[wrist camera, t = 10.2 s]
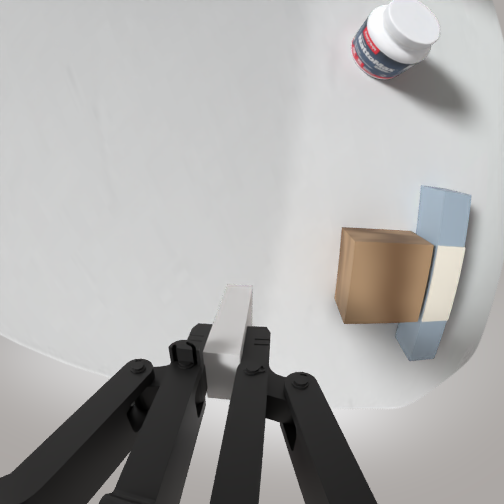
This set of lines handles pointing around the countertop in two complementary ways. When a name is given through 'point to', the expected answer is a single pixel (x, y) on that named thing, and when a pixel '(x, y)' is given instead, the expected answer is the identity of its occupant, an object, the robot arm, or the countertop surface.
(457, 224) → the blue and cream block
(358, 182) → the countertop surface
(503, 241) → the countertop surface
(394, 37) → the pill bottle
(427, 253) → the walnut block
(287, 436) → the robot arm
